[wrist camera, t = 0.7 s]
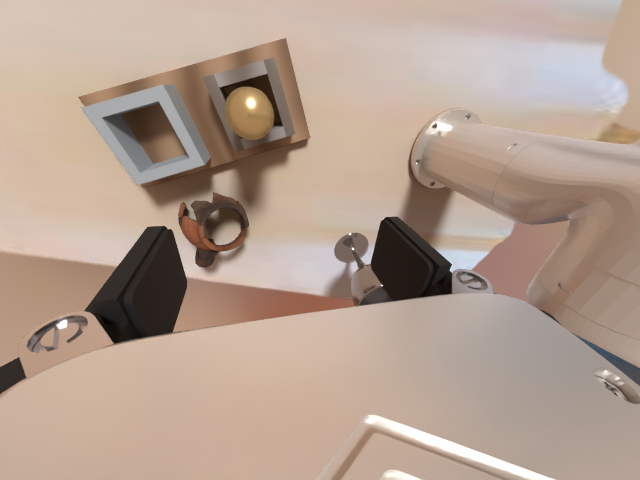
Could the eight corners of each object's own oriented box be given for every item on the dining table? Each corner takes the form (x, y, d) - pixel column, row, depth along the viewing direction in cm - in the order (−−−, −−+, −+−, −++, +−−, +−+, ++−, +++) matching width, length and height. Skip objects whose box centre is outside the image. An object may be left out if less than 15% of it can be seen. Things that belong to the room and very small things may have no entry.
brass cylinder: (263, 83, 29) (264, 80, 19) (274, 118, 31) (280, 132, 21) (231, 92, 29) (215, 94, 19) (245, 127, 31) (237, 145, 21)
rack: (174, 85, 27) (162, 84, 24) (210, 157, 32) (204, 164, 29) (103, 105, 27) (80, 107, 23) (150, 175, 32) (137, 185, 28)
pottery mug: (175, 181, 35) (193, 192, 29) (237, 190, 41) (260, 201, 36) (169, 257, 37) (183, 280, 32) (227, 254, 44) (248, 273, 39)
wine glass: (325, 244, 45) (349, 302, 33) (361, 223, 45) (400, 275, 32) (342, 270, 50) (369, 329, 37) (375, 251, 49) (414, 306, 37)
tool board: (284, 40, 28) (288, 31, 24) (308, 136, 34) (314, 142, 30) (86, 96, 27) (55, 98, 23) (147, 184, 33) (131, 197, 29)
